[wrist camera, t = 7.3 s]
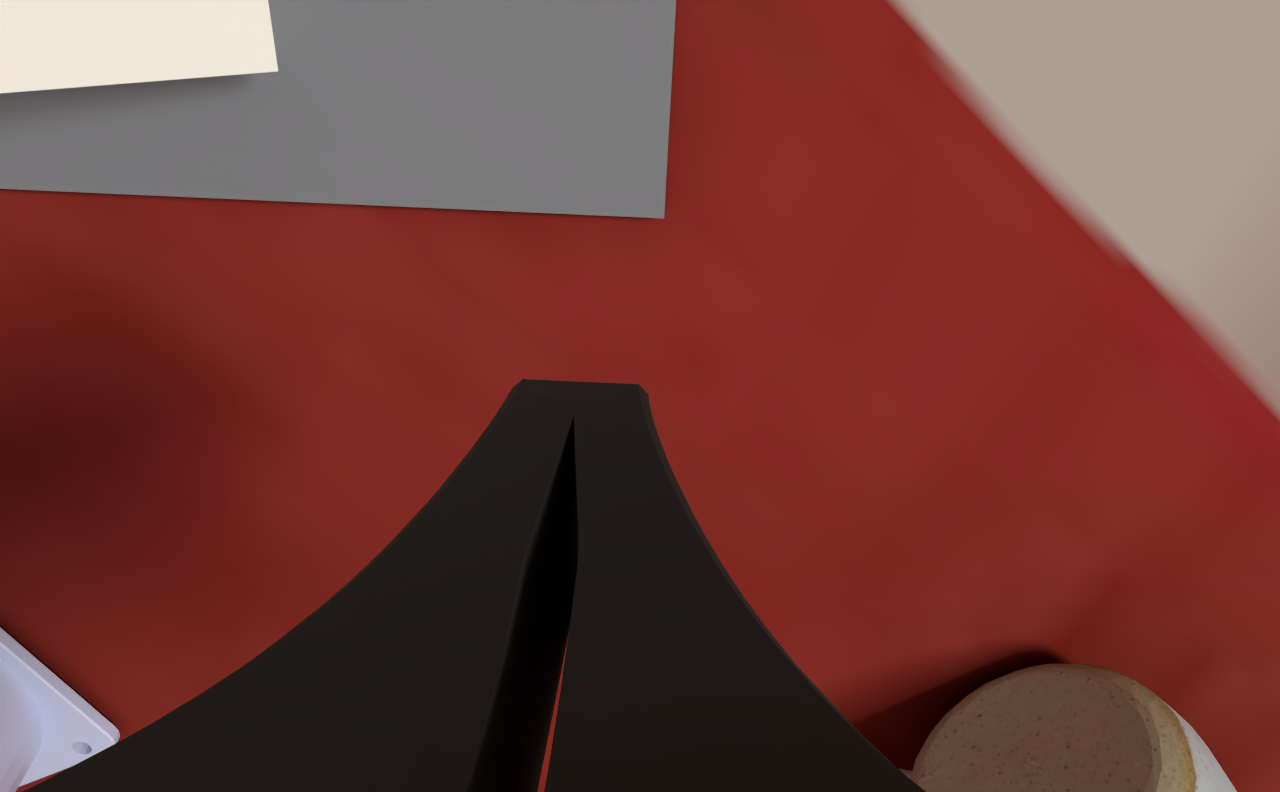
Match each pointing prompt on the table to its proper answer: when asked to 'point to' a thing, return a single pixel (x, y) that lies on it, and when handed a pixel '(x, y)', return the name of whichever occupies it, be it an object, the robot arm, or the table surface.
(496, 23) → the mat
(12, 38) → the domino
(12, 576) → the table surface
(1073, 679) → the ceramic mug
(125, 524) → the table surface
